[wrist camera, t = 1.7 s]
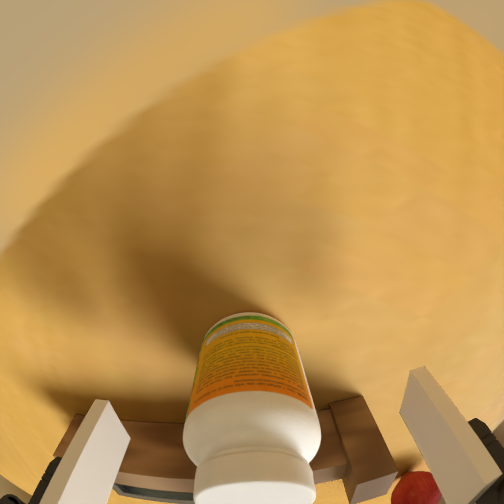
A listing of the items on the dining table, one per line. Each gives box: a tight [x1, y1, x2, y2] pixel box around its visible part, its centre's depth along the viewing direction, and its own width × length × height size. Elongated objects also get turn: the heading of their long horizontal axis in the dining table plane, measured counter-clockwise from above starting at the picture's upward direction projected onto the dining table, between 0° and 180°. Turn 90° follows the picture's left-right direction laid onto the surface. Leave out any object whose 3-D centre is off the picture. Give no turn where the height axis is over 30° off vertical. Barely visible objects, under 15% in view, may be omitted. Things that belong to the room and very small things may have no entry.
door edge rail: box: [53, 396, 398, 504], centre depth 14 cm, size 22×3×7 cm, turn 97°
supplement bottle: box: [183, 312, 321, 504], centre depth 11 cm, size 5×5×10 cm
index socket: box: [112, 483, 195, 504], centre depth 18 cm, size 10×10×2 cm
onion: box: [391, 471, 442, 504], centre depth 18 cm, size 6×6×8 cm
